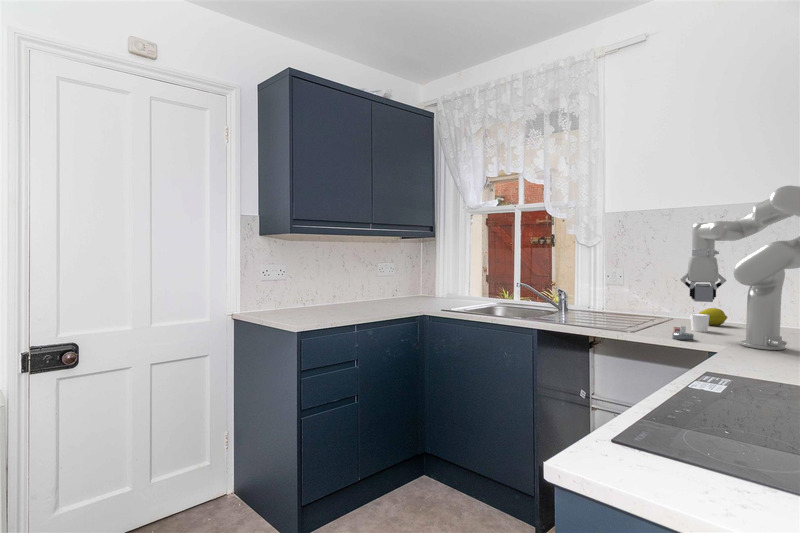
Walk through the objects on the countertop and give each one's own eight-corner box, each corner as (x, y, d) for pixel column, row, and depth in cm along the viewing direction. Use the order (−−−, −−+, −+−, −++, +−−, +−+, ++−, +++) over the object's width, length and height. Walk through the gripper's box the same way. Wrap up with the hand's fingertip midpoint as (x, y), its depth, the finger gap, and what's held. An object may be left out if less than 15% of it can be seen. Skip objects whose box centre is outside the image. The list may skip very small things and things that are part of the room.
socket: (712, 302, 180) (713, 284, 180) (694, 301, 183) (695, 284, 183) (710, 300, 186) (710, 283, 186) (692, 300, 188) (692, 283, 188)
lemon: (727, 325, 211) (728, 308, 211) (726, 327, 205) (727, 309, 204) (699, 323, 217) (699, 306, 217) (697, 325, 211) (698, 308, 211)
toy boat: (694, 341, 175) (695, 328, 174) (673, 339, 178) (673, 327, 177) (687, 332, 192) (688, 321, 192) (668, 331, 195) (668, 319, 195)
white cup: (693, 331, 195) (693, 315, 194) (687, 329, 201) (687, 313, 201) (711, 332, 193) (712, 316, 193) (705, 329, 200) (705, 313, 199)
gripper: (727, 253, 184) (726, 298, 184) (677, 254, 191) (676, 297, 192) (731, 253, 177) (730, 300, 177) (679, 254, 184) (678, 299, 185)
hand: (702, 298), depth 184 cm, fingers closed on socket, 6 cm apart
